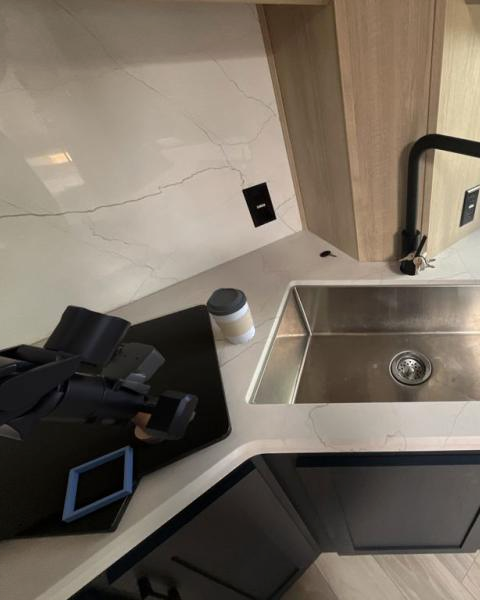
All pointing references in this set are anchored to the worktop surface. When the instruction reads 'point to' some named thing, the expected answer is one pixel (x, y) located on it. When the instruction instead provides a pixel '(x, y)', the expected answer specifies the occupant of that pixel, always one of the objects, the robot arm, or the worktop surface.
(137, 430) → the dish brush
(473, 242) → the worktop surface
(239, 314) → the coffee cup
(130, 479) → the blue square frame
